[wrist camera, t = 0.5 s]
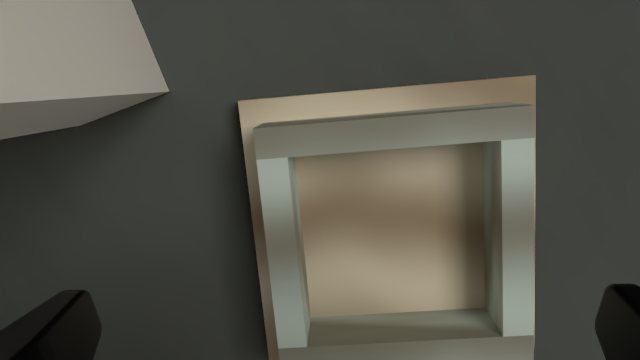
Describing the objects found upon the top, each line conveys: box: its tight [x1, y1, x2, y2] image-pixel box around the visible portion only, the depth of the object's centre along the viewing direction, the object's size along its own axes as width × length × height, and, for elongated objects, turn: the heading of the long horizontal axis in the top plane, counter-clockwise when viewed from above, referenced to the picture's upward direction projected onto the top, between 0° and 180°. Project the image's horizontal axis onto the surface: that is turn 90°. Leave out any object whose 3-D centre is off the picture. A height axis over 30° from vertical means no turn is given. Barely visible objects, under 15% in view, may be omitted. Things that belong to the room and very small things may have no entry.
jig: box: [238, 75, 536, 360], centre depth 20 cm, size 12×12×4 cm
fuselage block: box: [0, 0, 169, 140], centre depth 15 cm, size 4×4×12 cm
